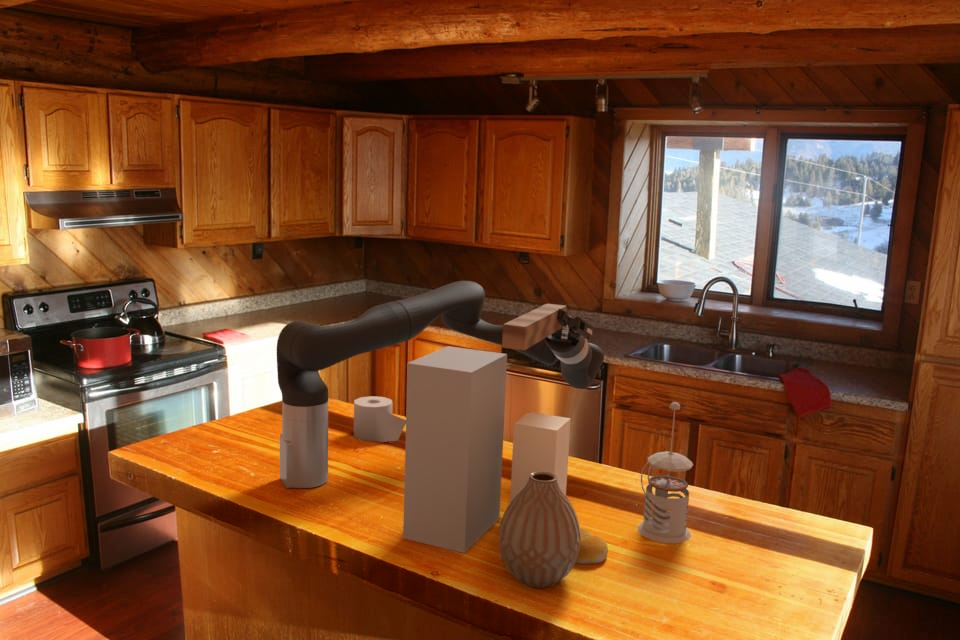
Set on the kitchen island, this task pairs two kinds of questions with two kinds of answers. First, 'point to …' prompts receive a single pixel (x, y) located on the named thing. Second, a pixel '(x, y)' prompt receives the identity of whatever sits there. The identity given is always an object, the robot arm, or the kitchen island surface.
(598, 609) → the kitchen island surface
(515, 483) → the post
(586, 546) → the bread roll
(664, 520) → the french press
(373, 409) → the toilet tissue
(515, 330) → the walnut bar
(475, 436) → the tall white pillar
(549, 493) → the vase
